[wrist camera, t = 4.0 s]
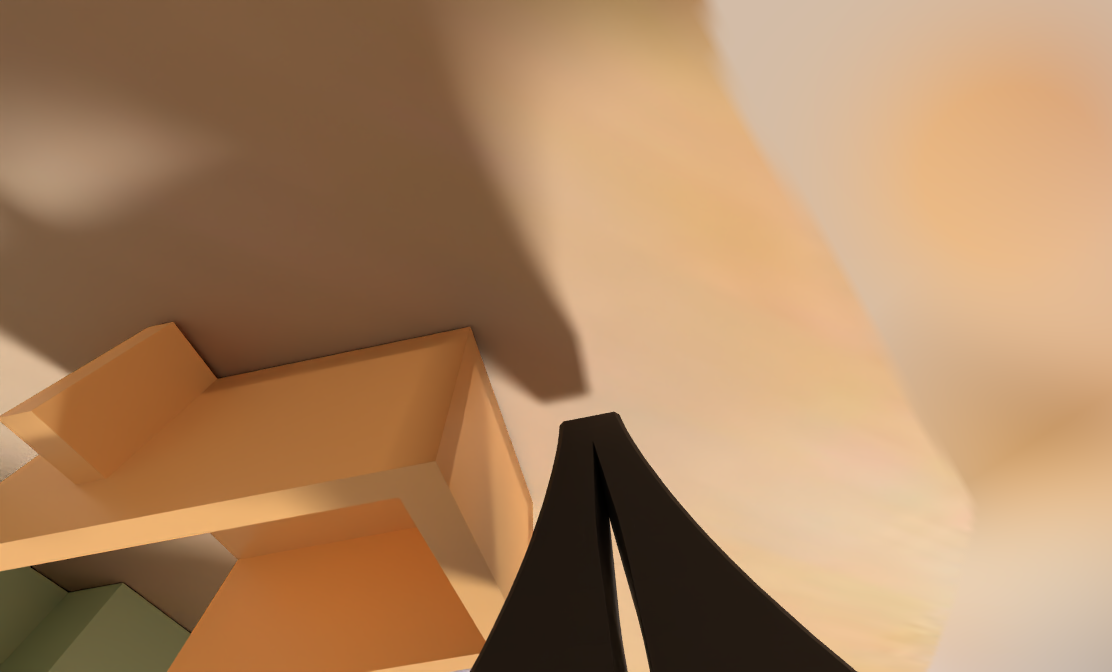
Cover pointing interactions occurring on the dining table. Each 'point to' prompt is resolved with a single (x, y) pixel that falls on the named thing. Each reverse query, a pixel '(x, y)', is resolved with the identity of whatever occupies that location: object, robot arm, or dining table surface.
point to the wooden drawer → (289, 496)
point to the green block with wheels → (81, 628)
